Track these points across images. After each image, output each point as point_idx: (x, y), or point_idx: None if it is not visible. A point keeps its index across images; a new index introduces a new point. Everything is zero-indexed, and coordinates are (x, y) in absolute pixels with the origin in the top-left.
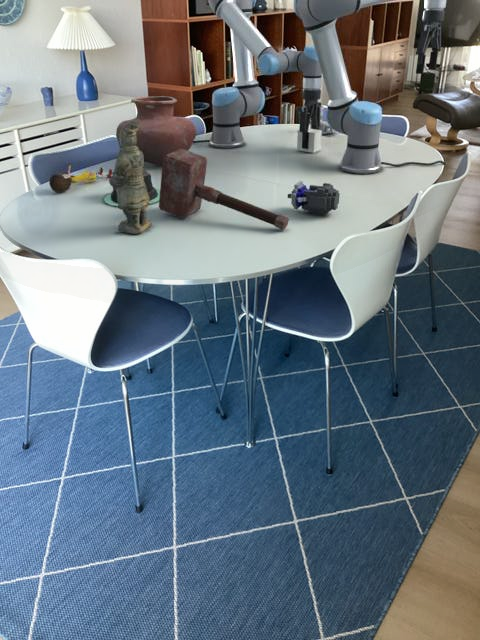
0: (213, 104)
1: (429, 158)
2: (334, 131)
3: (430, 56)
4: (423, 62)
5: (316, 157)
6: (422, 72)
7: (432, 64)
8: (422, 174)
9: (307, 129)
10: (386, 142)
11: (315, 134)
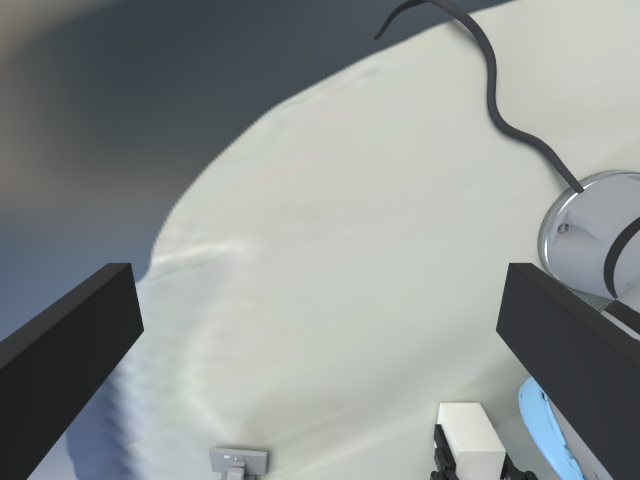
0: None
1: (376, 86)
2: (258, 452)
3: (50, 442)
4: (623, 339)
5: (513, 379)
6: (540, 272)
7: (105, 329)
8: (607, 25)
9: (515, 476)
10: (237, 296)
11: (498, 445)
